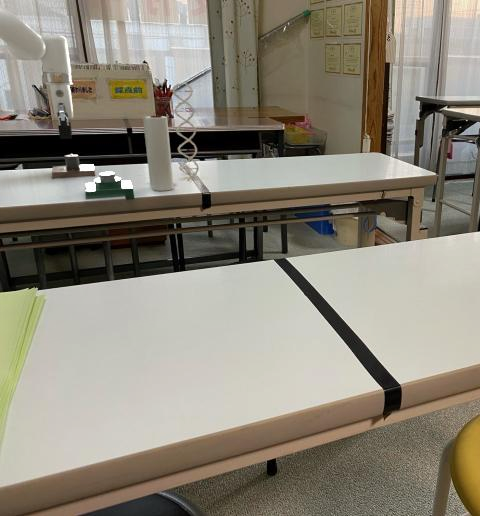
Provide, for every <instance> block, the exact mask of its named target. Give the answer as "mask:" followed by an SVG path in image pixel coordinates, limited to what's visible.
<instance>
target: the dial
mask: <svg viewBox="0 0 480 516" xmlns="http://www.w3.org/2000/svg"><path fill="white" fill-rule="evenodd" d="M79 156H80V155H78V154H73V153H70V154H66V155H64V163H65V166H66V169H79V168H80V165H81V164H80V158H79Z"/></svg>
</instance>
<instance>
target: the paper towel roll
mask: <svg viewBox="0 0 480 516" xmlns="http://www.w3.org/2000/svg"><path fill="white" fill-rule="evenodd" d="M142 122H143V130H144V131H143V132H144V139H145V147H146V149H145V150H146V157H147V167H148V176H149V177H148V178H149V185H150V186H149V187H152V190H154V191H156V192H157V191H158V192H166V191H167V192H168V191H171V190H174V188H175V187H174V178H173V177H174V175H173V167H172V164H173V163H172V155H171V154H172V153H171V146H170V145H171V143H170V135H169V134H170V133H169V132H170V131H169V122H168V116H165V115H164V116H163V115H142Z"/></svg>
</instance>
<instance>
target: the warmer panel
mask: <svg viewBox="0 0 480 516" xmlns="http://www.w3.org/2000/svg"><path fill="white" fill-rule="evenodd" d="M51 176H52V179H70V178H86V177H96V173H95V165H94V163H93V164H80V168H79V169H66V165H56V166H55V165H54V166H52V170H51Z"/></svg>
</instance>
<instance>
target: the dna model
mask: <svg viewBox="0 0 480 516" xmlns="http://www.w3.org/2000/svg"><path fill="white" fill-rule="evenodd" d="M184 84H185V86H187V88H188V89H189V90H184V93H189V95H188V96H187V97H186V98H185V99H183V98H181V97H180V96H179V95H178V94H176V93H182V92H183V90H176V88H177V87H178V86H179V85H180V83H179V82H178V83H177V84H175V85H174V86H173V87H172V90H171V91H172V94H173V95H174V97H176V98H177V99H178V100H180V101H181V102H178V104H177V105H176V106H175V107H174V109H173V112H174V114H175V115H176V116H177V117H178V118H180V119H181V120H183V122H181V123H180V124H179V125H178V126H177V127H176V128H175V133H176V134H177V135H178V136H180V137H182V139H185V140H184V141H183V142H182V143H181V144H179V146H178V147H177V152H178V153H179V154H180V155H181V156H182V155H183V157H185V158H187V160H185V161H183V163H181V164H180V165H179V168H178V169H179V170H180V171H181V173H183V174H185V175H187V176H189V177H188V178H187V179H186V181H187V182H189V181H190V180H191V179H193V178H194V177H195V176H196V175H197V174H198V172H199V169H200V167H199V165H198V163H197V162H196V161H195V159H193V158H194V157H195V156H196V155H197V153H198V148H197V146H196V144H195V143H194V142H193V141H192V139H193V138H194V136H195V135H196V133H197V129H196V127H195V126H194V125H193V123H191V121H190V120H191V119H192V118H193V117H194V114H195V109H194V107H193V106H192V105H191V104H190V103H189V102H188V100H189V99H190V98H191V97H192V96H193V93H194V91H195V90H193V88H192V87H191V86H190V84H188V83H187V82H184ZM183 104H184V105H185V104H186V105H187V106H188V107H189V108H190V110H178V109H179V108H180V106H182V105H183ZM180 112H184V113H191V114H190V115H189V116H188V117H187V119H186V118H184V117H183V116H181V115H180V114H179V113H180ZM184 124H189V125H190V127H192V129H193V130H189V129H188V132H193V133H192V134H191V136H190V137H189V138H188V137H186V136H184V135H183V134H182V133H181V132H185V130H180V129H181V127H182V126H183V125H184ZM187 143H190V144H191V145H193V147H194V148H193V149H191V148H190V149H188V151H194V153H193V154H192V155H191V156H189V155H187V154H186V153H184V152H182V151H183V149H181V148H182V147H183V146H184V145H185V144H187ZM184 151H187V149H184ZM189 162H193V164H194V165H195V166H196V167H189V168H188V167H185V168H184V167H183V166H184V165H185V164H187V163H189ZM185 170H195V172H194V173H192V174H190V173H188V172H186V171H185Z"/></svg>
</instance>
